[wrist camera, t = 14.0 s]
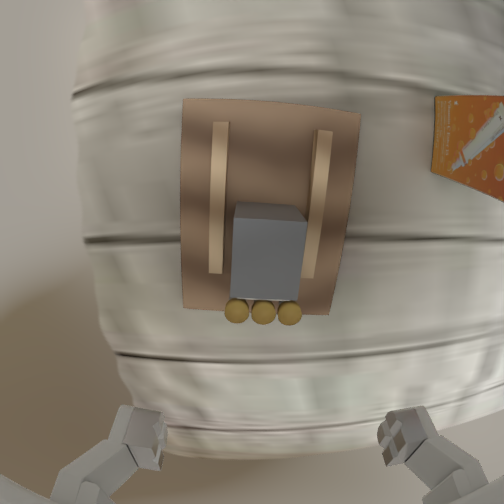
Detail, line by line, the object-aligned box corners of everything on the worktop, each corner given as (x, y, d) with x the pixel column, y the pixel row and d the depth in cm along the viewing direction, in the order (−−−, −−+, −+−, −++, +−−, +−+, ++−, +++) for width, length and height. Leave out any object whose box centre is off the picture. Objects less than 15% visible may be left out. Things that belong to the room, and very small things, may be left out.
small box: (433, 95, 23) (528, 94, 11) (477, 109, 23) (567, 119, 11) (428, 173, 26) (519, 211, 14) (471, 180, 26) (557, 218, 14)
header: (185, 99, 23) (160, 89, 16) (357, 114, 24) (395, 112, 17) (185, 302, 31) (169, 351, 24) (326, 309, 32) (344, 358, 25)
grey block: (237, 201, 26) (233, 217, 20) (294, 205, 26) (307, 222, 21) (233, 268, 28) (230, 299, 22) (287, 270, 28) (296, 302, 23)
